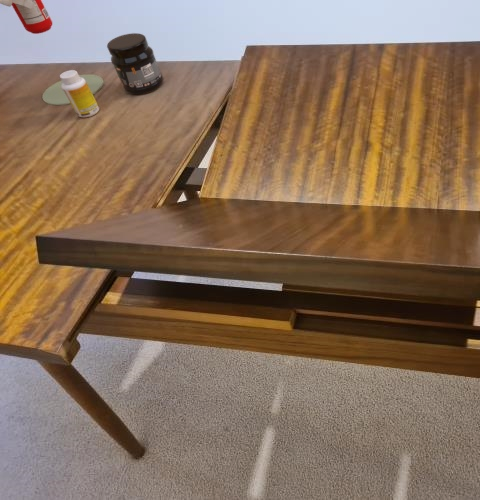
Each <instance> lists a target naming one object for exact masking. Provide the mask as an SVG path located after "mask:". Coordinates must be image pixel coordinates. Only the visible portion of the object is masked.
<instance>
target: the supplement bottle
mask: <svg viewBox="0 0 480 500" xmlns="http://www.w3.org/2000/svg"><path fill="white" fill-rule="evenodd" d="M79 75H80V74H79V73H78V71H77V70H75V69H70V70H66V71H64V72H62V73H60V74H59V78H60V81H61V80H62V82H63V83H62V85H61V87H62V89H63V91H64V93H65V95H66V96H67V98H68V100H69V102H70V103H71V104H70V105H71V107H72V109H73V110H74V112H75V114H76V116H77V117H79V118H83V119H84V118H90V117H93V116H95V115H96V114H97V113H99V111H100V106H99V104H98V102H97V100H96V98H95V96H94V95H93V94H92V92H91V90H90V89H89V87H88V85H87V83H86V81H85V79H84V78H82V77H79Z"/></svg>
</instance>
